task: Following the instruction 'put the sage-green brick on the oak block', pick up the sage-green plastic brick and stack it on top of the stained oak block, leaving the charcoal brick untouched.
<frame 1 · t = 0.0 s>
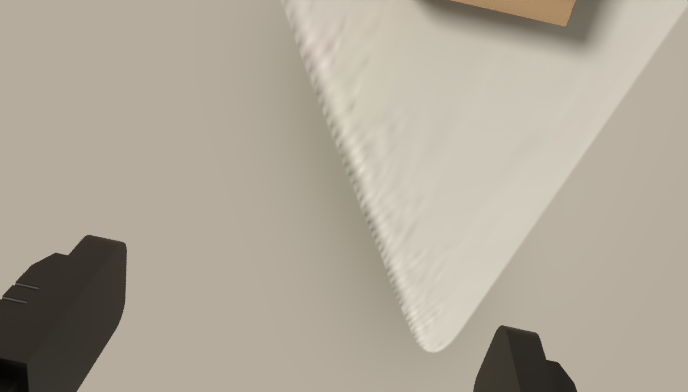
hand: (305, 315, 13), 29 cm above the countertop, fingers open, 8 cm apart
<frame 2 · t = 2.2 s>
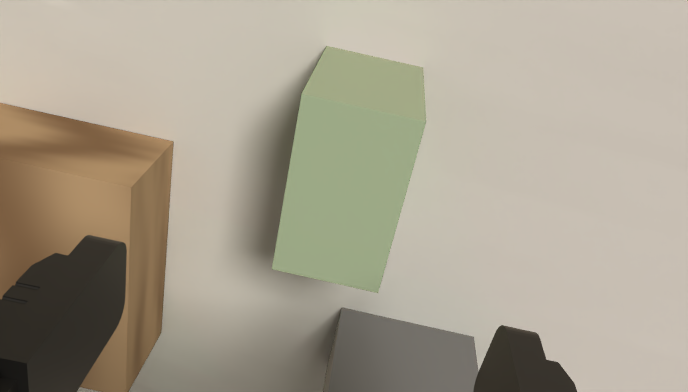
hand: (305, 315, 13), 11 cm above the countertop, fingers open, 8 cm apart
charcoal brick: (398, 350, 27), on the countertop
oak block: (76, 225, 26), on the countertop
sage brick: (357, 133, 23), on the countertop
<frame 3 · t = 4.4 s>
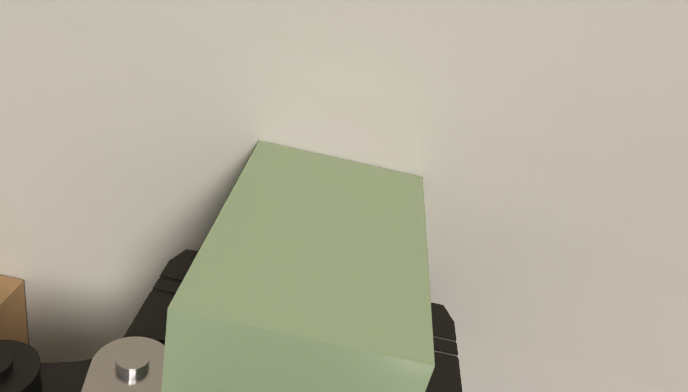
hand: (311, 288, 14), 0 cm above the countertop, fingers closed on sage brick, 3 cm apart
sage brick: (315, 273, 14), on the countertop, touching gripper
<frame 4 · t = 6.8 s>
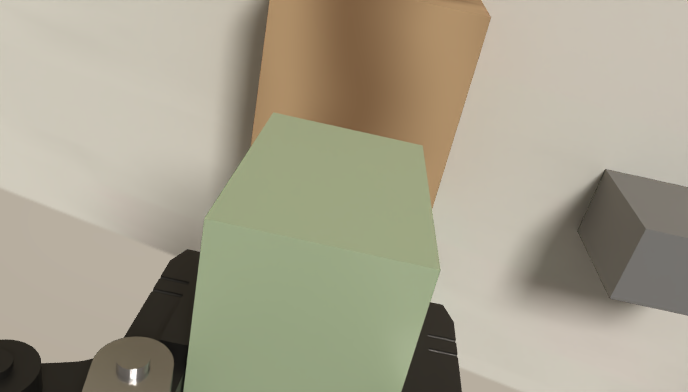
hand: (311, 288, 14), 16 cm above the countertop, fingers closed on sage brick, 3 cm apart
charcoal brick: (651, 213, 29), on the countertop
oak block: (361, 89, 27), on the countertop
sage brick: (323, 241, 15), point 14 cm above the countertop, touching gripper
when the fingers open (6 cm above the countertop, at t = 9.3 s): sage brick stays where it is, resting on oak block.
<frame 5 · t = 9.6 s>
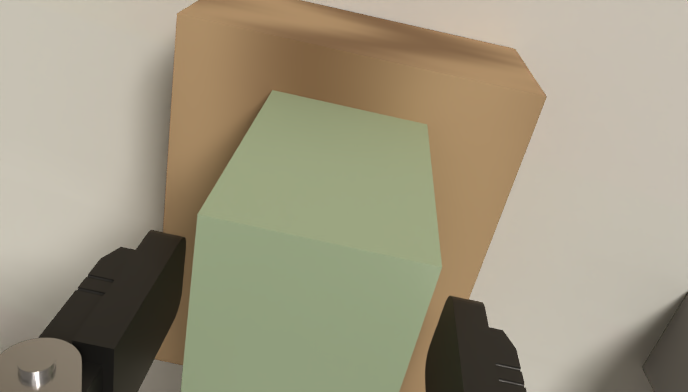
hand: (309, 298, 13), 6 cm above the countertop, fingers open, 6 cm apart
oak block: (335, 177, 19), on the countertop
sage brick: (325, 220, 15), point 4 cm above the countertop, touching oak block
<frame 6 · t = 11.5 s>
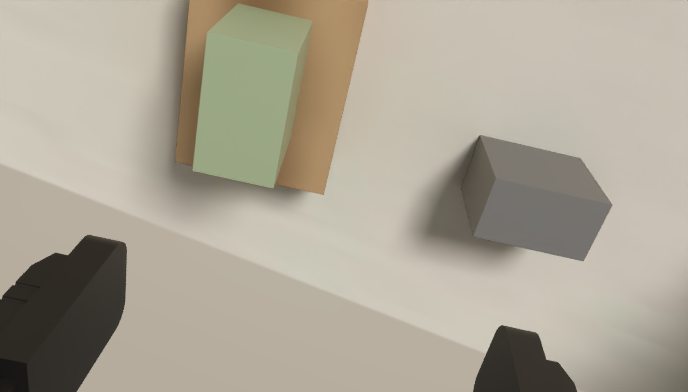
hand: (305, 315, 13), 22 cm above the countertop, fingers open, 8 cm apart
charcoal brick: (519, 172, 35), on the countertop
oak block: (276, 66, 33), on the countertop
sage brick: (265, 74, 29), point 4 cm above the countertop, touching oak block
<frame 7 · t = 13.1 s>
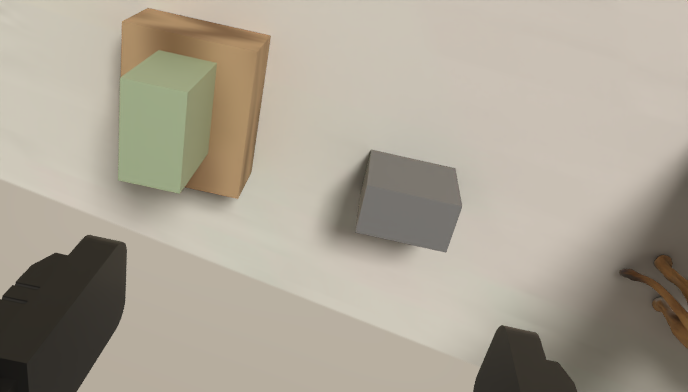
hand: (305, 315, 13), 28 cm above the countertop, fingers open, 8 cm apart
charcoal brick: (407, 180, 42), on the countertop
oak block: (202, 95, 41), on the countertop
sage brick: (184, 103, 37), point 4 cm above the countertop, touching oak block
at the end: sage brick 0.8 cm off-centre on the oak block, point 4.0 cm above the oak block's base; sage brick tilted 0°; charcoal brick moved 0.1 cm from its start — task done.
